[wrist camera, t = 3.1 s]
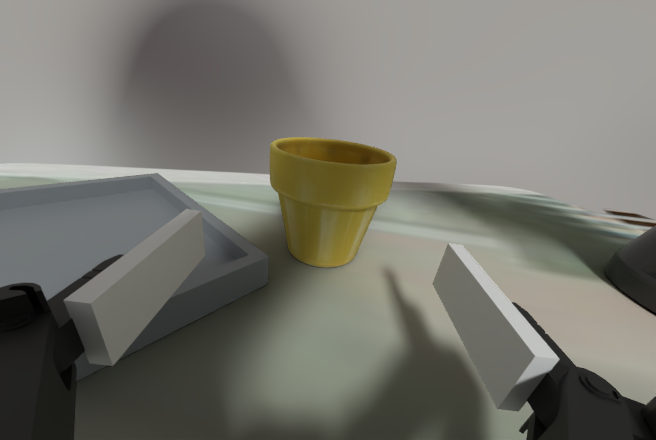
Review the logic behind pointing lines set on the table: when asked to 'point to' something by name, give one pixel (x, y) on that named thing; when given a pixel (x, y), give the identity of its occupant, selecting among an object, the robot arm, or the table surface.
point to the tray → (120, 245)
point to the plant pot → (328, 195)
